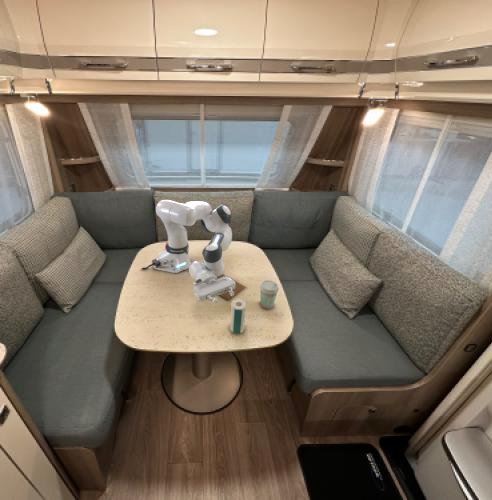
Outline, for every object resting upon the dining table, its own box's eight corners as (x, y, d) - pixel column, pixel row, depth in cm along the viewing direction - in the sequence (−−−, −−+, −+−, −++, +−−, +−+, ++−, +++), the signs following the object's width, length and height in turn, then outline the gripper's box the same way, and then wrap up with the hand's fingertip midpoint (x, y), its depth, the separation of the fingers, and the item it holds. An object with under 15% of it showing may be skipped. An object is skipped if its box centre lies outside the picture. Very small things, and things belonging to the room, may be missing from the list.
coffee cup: (264, 313, 125) (267, 293, 119) (254, 301, 132) (256, 282, 126) (279, 307, 128) (282, 288, 122) (269, 297, 135) (271, 278, 129)
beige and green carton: (230, 322, 120) (232, 298, 113) (244, 324, 119) (246, 299, 112) (229, 333, 114) (230, 308, 107) (243, 334, 114) (245, 310, 106)
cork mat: (202, 285, 144) (202, 284, 143) (219, 274, 152) (219, 273, 152) (228, 300, 133) (228, 299, 132) (245, 287, 142) (245, 286, 141)
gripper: (226, 280, 137) (242, 295, 127) (190, 294, 128) (205, 311, 118) (226, 270, 134) (243, 285, 124) (190, 283, 125) (205, 300, 115)
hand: (224, 298), depth 121 cm, fingers open, 8 cm apart
